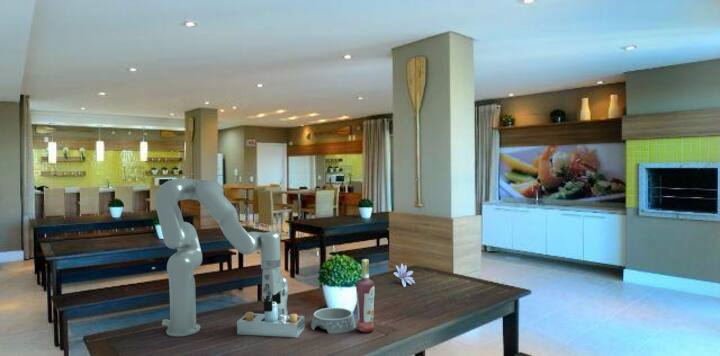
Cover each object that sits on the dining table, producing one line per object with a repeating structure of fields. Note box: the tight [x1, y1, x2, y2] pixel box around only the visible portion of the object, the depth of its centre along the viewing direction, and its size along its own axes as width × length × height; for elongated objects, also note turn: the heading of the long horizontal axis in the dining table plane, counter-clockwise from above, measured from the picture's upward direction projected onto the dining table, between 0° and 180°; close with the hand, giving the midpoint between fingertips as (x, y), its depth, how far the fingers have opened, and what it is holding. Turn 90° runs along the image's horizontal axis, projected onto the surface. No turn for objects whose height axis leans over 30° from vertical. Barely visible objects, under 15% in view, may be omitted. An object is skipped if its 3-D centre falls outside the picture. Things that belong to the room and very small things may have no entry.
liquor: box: [355, 258, 376, 333], centre depth 185 cm, size 7×7×28 cm
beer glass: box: [277, 277, 289, 315], centre depth 207 cm, size 7×7×15 cm
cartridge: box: [264, 301, 278, 322], centre depth 186 cm, size 5×5×12 cm
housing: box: [236, 312, 306, 338], centre depth 186 cm, size 24×10×5 cm, turn 81°
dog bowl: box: [310, 307, 357, 335], centre depth 192 cm, size 17×18×5 cm
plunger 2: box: [288, 313, 298, 323], centre depth 184 cm, size 3×3×5 cm
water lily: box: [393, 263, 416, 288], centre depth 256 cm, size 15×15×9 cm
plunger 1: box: [245, 311, 254, 321], centre depth 187 cm, size 3×3×5 cm
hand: (272, 307), depth 186 cm, fingers open, 9 cm apart
